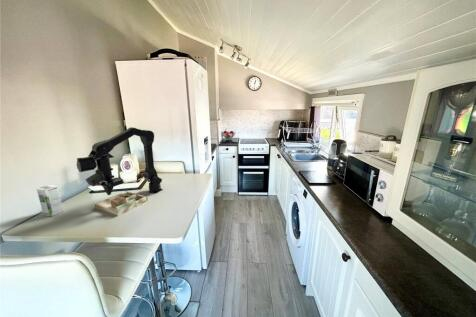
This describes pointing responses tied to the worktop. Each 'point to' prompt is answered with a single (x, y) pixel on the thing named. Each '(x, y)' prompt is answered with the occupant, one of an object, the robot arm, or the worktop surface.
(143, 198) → the trap board
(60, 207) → the syrup box
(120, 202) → the walnut block
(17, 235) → the worktop surface
